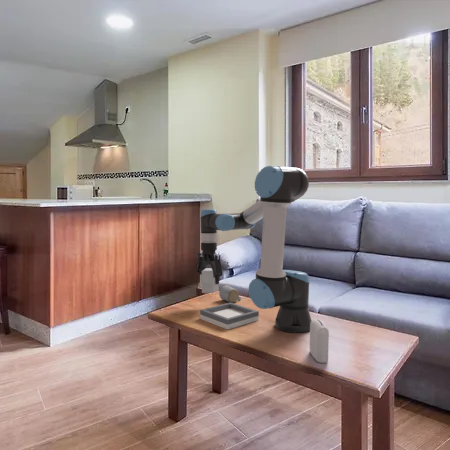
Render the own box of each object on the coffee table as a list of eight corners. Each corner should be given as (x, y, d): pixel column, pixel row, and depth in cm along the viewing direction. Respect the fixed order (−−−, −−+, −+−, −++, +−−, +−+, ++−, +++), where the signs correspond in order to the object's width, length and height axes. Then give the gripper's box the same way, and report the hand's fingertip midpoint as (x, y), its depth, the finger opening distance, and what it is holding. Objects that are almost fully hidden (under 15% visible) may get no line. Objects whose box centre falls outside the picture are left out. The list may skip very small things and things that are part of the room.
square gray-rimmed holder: (258, 320, 166) (258, 311, 165) (227, 329, 154) (227, 319, 153) (230, 310, 179) (230, 302, 179) (200, 318, 167) (200, 309, 167)
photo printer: (308, 350, 133) (308, 316, 132) (320, 350, 133) (321, 315, 132) (316, 363, 123) (317, 325, 122) (329, 363, 123) (330, 325, 122)
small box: (213, 293, 178) (213, 270, 177) (201, 293, 179) (201, 270, 178) (216, 289, 186) (216, 268, 185) (205, 289, 187) (205, 267, 186)
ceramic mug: (228, 304, 190) (228, 289, 190) (218, 300, 197) (219, 285, 196) (244, 301, 197) (245, 286, 196) (234, 297, 203) (235, 283, 203)
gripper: (230, 243, 175) (230, 291, 176) (200, 239, 192) (201, 284, 193) (217, 244, 170) (218, 294, 171) (188, 241, 187) (189, 286, 188)
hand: (209, 289), depth 182 cm, fingers closed on small box, 9 cm apart
